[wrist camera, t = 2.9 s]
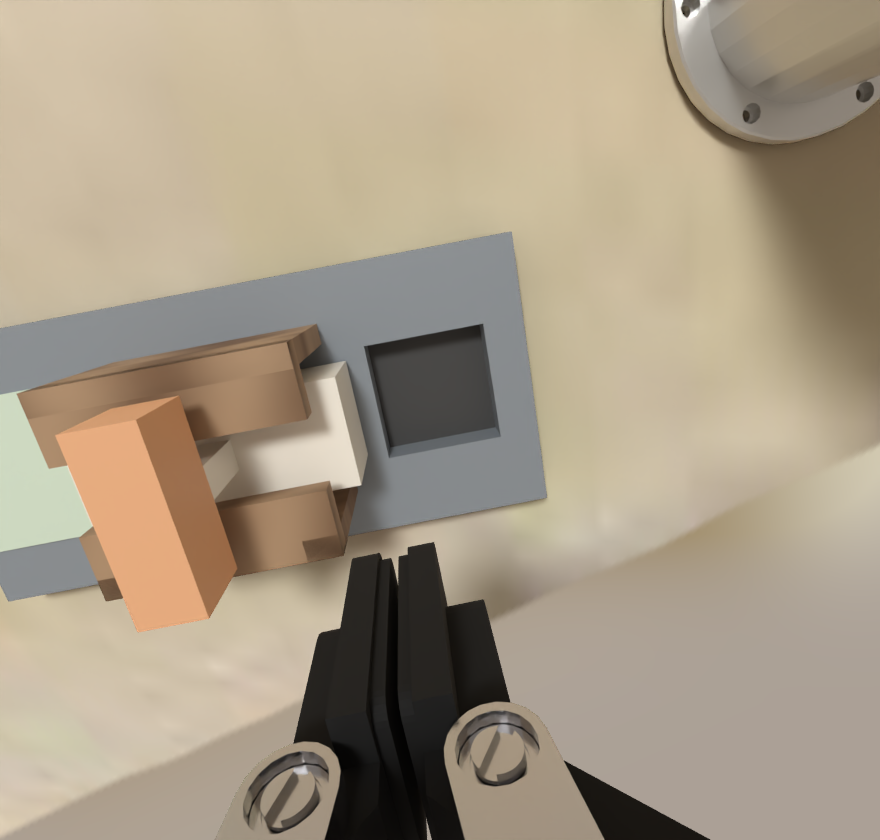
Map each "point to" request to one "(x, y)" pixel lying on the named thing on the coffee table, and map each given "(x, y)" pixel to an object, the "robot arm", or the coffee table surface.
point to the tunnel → (212, 415)
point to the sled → (198, 489)
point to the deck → (342, 339)
